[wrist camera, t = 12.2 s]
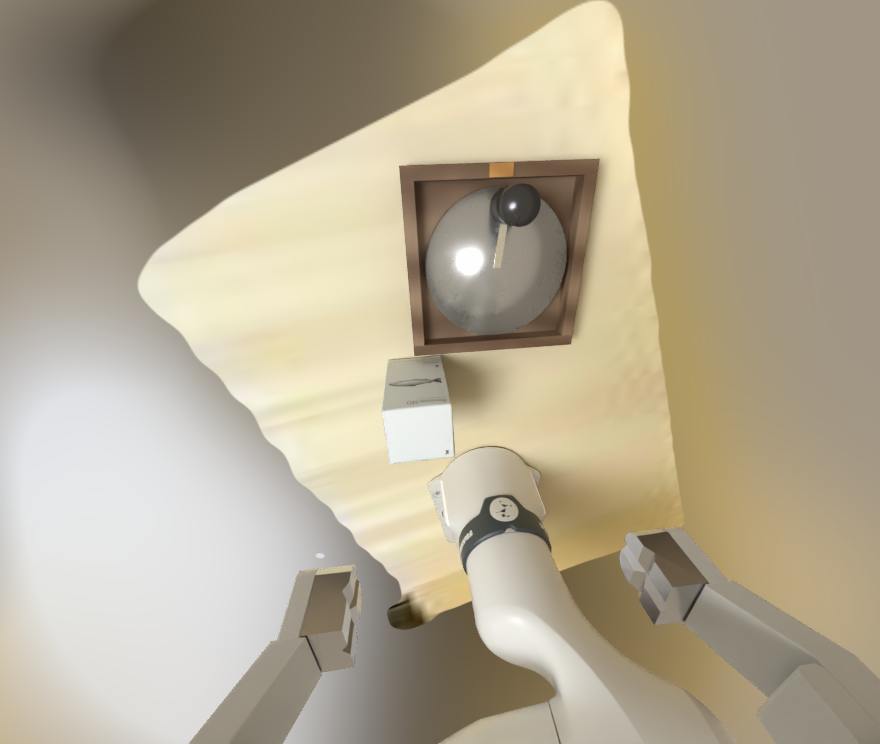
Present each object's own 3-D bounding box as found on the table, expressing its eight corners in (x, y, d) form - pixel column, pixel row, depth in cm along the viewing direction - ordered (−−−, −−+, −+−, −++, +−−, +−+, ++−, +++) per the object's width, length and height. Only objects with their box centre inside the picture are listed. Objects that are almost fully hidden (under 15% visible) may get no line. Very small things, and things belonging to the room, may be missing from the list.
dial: (543, 332, 43) (566, 353, 37) (421, 327, 41) (424, 348, 35) (575, 193, 36) (610, 191, 30) (429, 179, 34) (434, 173, 28)
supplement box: (441, 353, 44) (454, 403, 33) (444, 400, 47) (456, 460, 36) (386, 357, 43) (380, 410, 32) (393, 404, 47) (389, 467, 36)
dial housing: (560, 336, 44) (571, 344, 42) (414, 346, 43) (414, 356, 40) (584, 162, 35) (600, 158, 32) (399, 169, 34) (399, 165, 31)
